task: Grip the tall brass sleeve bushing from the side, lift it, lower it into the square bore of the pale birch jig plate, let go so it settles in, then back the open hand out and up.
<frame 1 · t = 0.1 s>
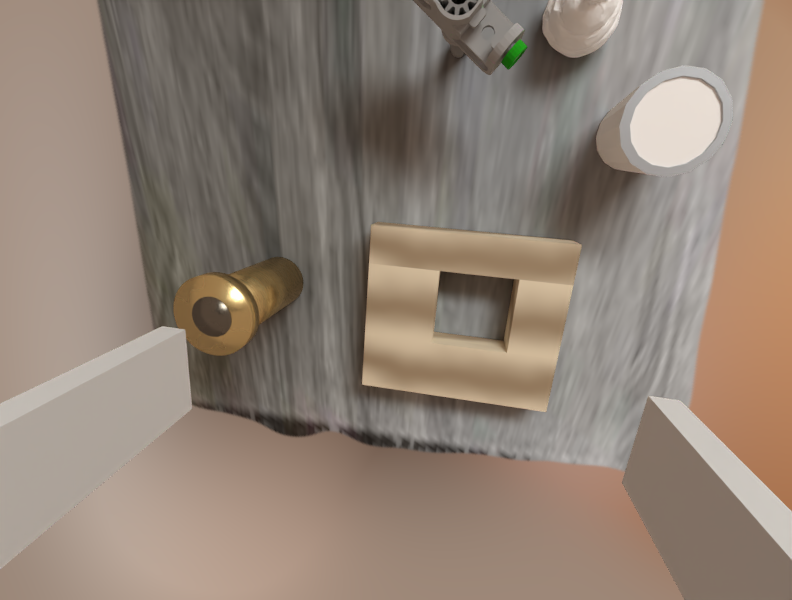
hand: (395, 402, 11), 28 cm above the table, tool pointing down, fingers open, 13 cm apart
brass sleeve: (280, 280, 41), on the table
birch jig: (461, 311, 39), on the table
white cup: (631, 136, 33), on the table
mechanical component: (459, 47, 33), on the table
garlic bulb: (575, 23, 31), on the table
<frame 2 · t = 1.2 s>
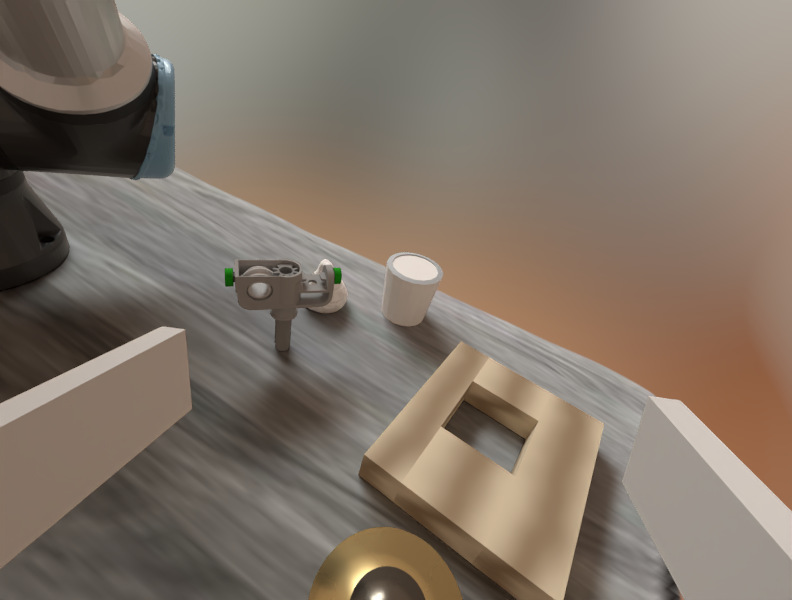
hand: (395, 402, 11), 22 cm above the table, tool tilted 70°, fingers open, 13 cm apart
birch jig: (486, 456, 36), on the table
white cup: (402, 313, 51), on the table
mechanical component: (281, 347, 42), on the table
garlic bulb: (324, 303, 49), on the table
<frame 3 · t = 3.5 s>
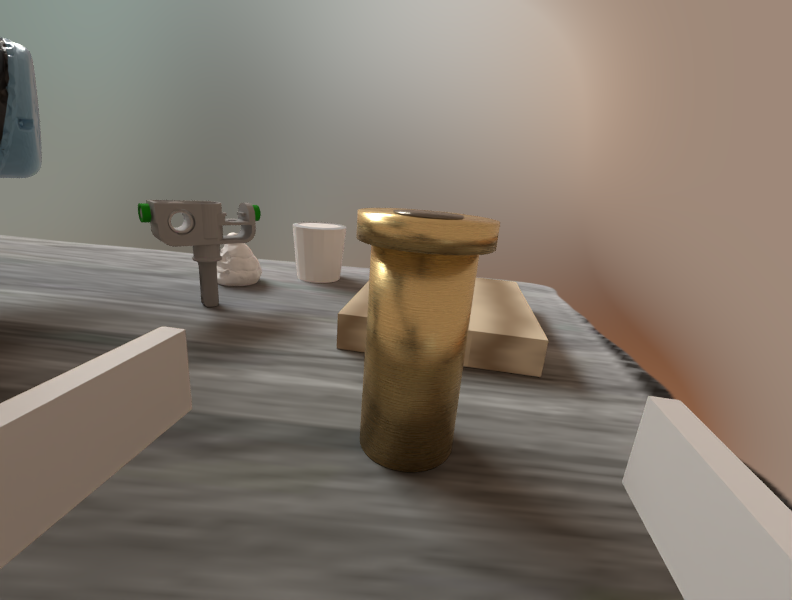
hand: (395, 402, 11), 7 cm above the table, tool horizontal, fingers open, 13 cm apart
brass sleeve: (405, 439, 21), on the table
birch jig: (440, 323, 39), on the table
white cup: (318, 278, 53), on the table
mechanical component: (210, 306, 39), on the table
garlic bulb: (238, 283, 48), on the table
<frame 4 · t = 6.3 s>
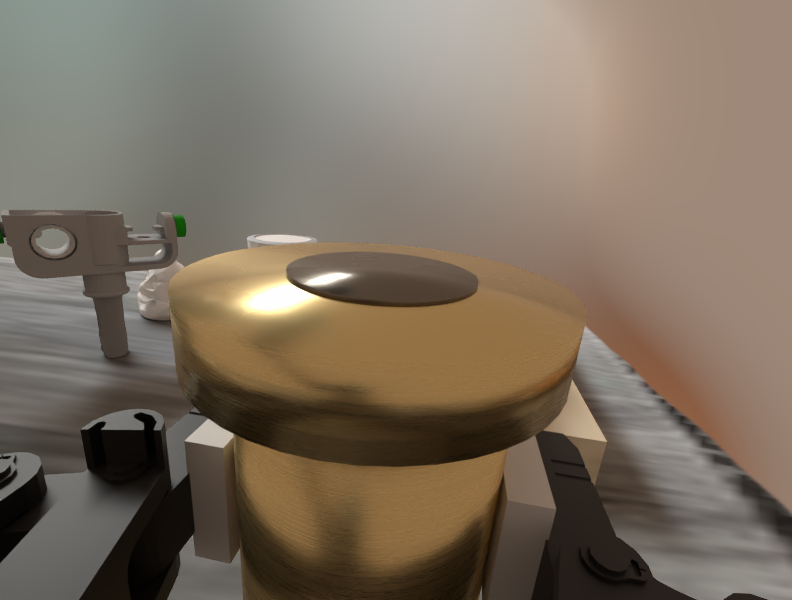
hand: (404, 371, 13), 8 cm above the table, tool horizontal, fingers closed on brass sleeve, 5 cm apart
birch jig: (436, 380, 28), on the table
white cup: (283, 305, 42), on the table
mechanical component: (115, 355, 28), on the table
garlic bulb: (173, 314, 37), on the table
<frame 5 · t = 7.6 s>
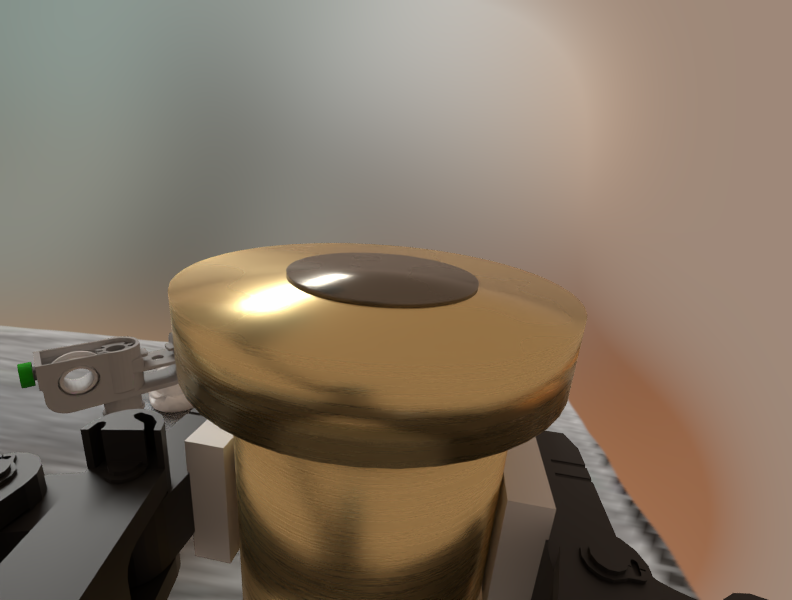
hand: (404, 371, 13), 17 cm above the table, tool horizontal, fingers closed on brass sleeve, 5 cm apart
mechanical component: (132, 462, 31), on the table
garlic bulb: (181, 402, 40), on the table
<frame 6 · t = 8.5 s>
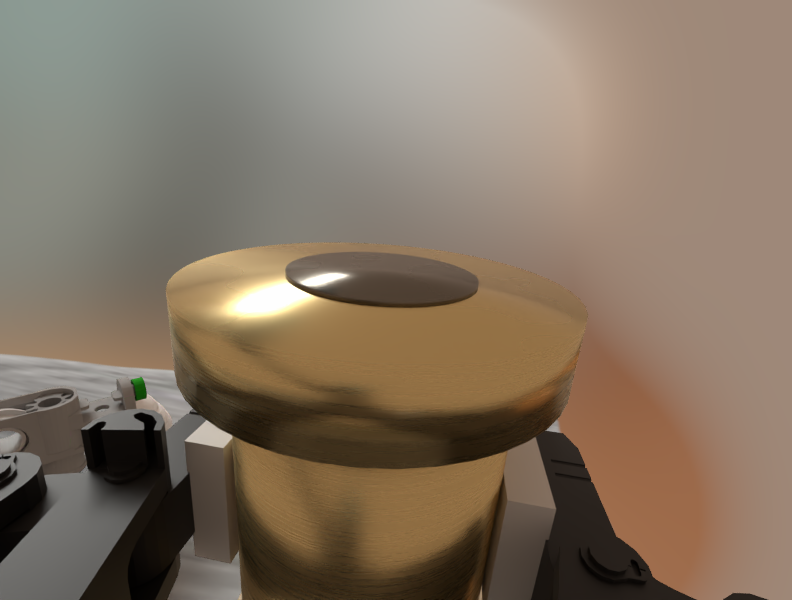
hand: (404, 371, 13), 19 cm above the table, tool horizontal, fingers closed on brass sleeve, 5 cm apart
mechanical component: (74, 524, 28), on the table
garlic bulb: (140, 443, 36), on the table
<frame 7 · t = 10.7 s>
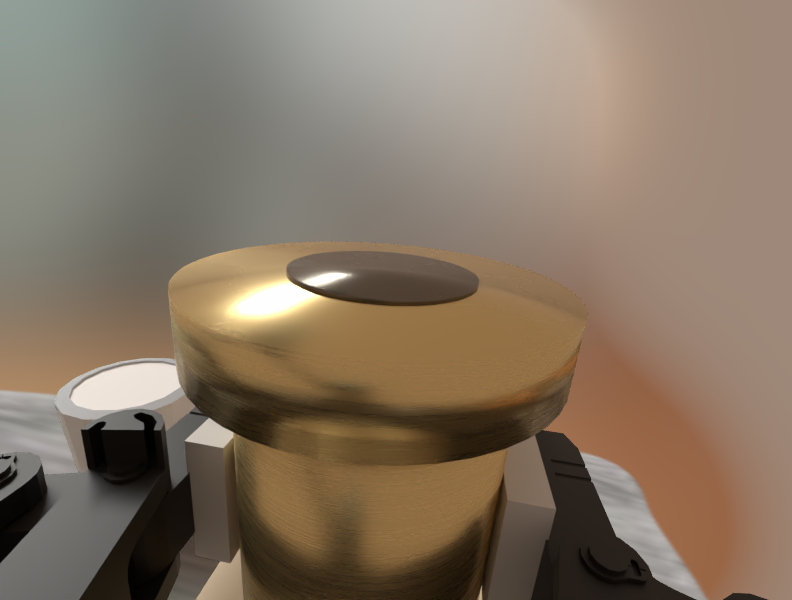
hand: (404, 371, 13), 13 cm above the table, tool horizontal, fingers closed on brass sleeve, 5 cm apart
white cup: (145, 483, 25), on the table
when the fingers open (9 cm above the table, at t = 12.1 s): brass sleeve drops 1 cm, resting in birch jig.
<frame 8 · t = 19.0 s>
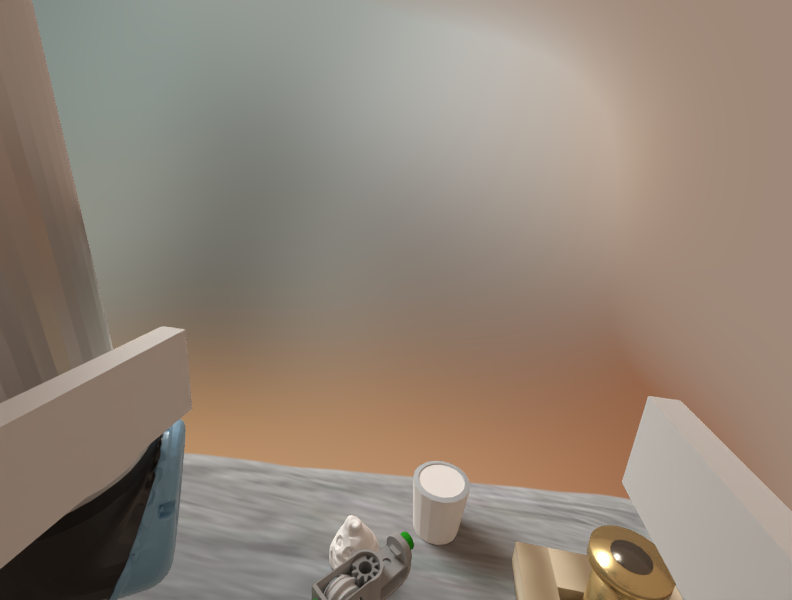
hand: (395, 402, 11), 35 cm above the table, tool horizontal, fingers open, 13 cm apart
white cup: (435, 526, 49), on the table
garlic bulb: (354, 562, 44), on the table
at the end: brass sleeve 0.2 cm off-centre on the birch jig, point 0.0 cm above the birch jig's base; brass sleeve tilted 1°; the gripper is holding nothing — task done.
